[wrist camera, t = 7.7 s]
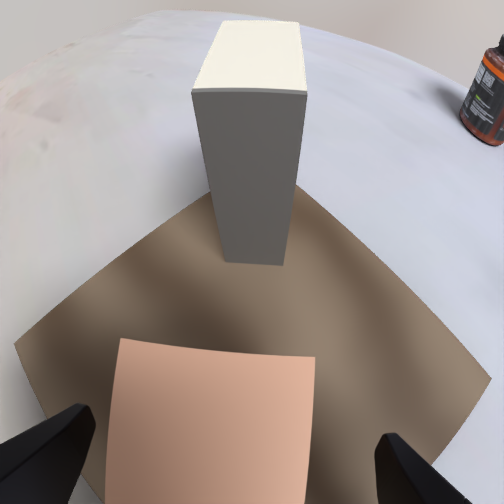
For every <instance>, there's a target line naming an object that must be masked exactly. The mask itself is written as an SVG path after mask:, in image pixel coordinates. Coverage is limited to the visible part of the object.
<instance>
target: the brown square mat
mask: <svg viewBox="0 0 504 504" xmlns="http://www.w3.org/2000/svg"><path fill="white" fill-rule="evenodd" d="M121 338H124V339H130V340H136V341H143V342H149V343H156V344H163V345H170V346H178V347H186V348H194V349H203V350H213V351H223V352H234V353H246V354H261V355H278V356H301V357H315V377H314V397H313V414H312V429H311V442H310V454H309V465H308V475H307V484H306V493H305V502H304V504H378V498H377V489H376V473H375V460H374V452H375V448H376V446H377V444H378V442H379V440H380V438H381V436H382V435H383V434H385V433H392V432H395V433H397V434H398V435H399V436H400V437H402V438H403V439H404V440H405V441H406V442H407V443H408V444H409V445H410V446H411V447H412V448H413V449H414V450H415V451H416V452H417V453H418V454H419V455H420V456H421V457H422V458H424V459H425V460H426V461H427V462H428V463H429V464H430V465H432V464H433V462H434V461H435V460H436V459H437V458H438V456H439V455H440V454H441V453H442V451H443V450H444V449H445V448H446V446H447V445H448V444H449V442H450V441H451V440H452V438H453V437H454V436H455V434H456V433H457V432H458V430H459V429H460V428H461V426H462V425H463V423H464V422H465V420H466V419H467V418H468V416H469V415H470V413H471V412H472V410H473V409H474V407H475V405H476V404H477V402H478V401H479V399H480V398H481V396H482V394H483V393H484V391H485V389H486V388H487V386H488V384H489V383H490V381H491V379H492V378H491V377H490V376H489V375H488V374H487V372H486V371H485V370H484V369H483V368H482V366H481V365H480V364H479V363H478V362H477V361H476V359H475V358H474V357H473V356H472V355H471V354H470V352H469V351H468V350H467V349H466V348H465V347H464V346H463V344H462V343H461V342H460V341H459V340H458V339H457V338H456V337H455V336H454V334H453V333H452V332H451V331H450V330H449V329H448V328H447V327H446V326H445V325H444V324H443V322H442V321H441V320H440V319H439V318H438V317H437V316H436V315H435V314H434V313H433V312H432V311H431V310H430V309H429V308H428V307H427V305H426V304H425V303H424V302H423V301H422V300H421V299H420V298H419V297H418V296H417V295H416V294H415V293H414V292H413V291H412V290H411V289H410V288H409V287H408V286H407V285H406V284H405V283H404V282H403V281H402V280H401V279H400V278H399V277H398V276H397V275H396V274H395V273H394V272H393V271H392V270H391V269H390V268H389V267H388V266H387V265H386V264H385V263H383V262H382V261H381V260H380V259H379V258H378V257H377V256H376V255H375V254H374V253H373V252H372V251H371V250H370V249H369V248H368V247H367V246H366V245H364V244H363V243H362V242H361V241H360V240H359V239H358V238H357V237H356V236H355V235H354V234H353V233H351V232H350V231H349V230H348V229H347V228H346V227H345V226H344V225H343V224H341V223H340V222H339V221H338V220H337V219H336V218H335V217H334V216H332V215H331V214H330V213H329V212H328V211H327V210H326V209H324V208H323V207H322V206H321V205H320V204H319V203H318V202H316V201H315V200H314V199H313V198H312V197H311V196H309V195H308V194H307V193H306V192H305V191H303V190H302V189H301V188H300V187H299V186H297V185H295V192H294V199H293V206H292V213H291V219H290V226H289V232H288V239H287V245H286V251H285V258H284V264H283V266H277V265H260V264H244V263H228V262H225V257H224V253H223V248H222V244H221V239H220V234H219V230H218V225H217V220H216V216H215V211H214V206H213V201H212V197H211V192H208V193H207V194H205V195H204V196H202V197H201V198H199V199H198V200H196V201H195V202H193V203H192V204H191V205H189V206H188V207H186V208H185V209H183V210H182V211H180V212H179V213H177V214H176V215H175V216H173V217H172V218H170V219H169V220H168V221H166V222H165V223H163V224H162V225H161V226H159V227H158V228H156V229H155V230H154V231H152V232H151V233H149V234H148V235H147V236H145V237H144V238H143V239H141V240H140V241H138V242H137V243H136V244H134V245H133V246H132V247H130V248H129V249H128V250H126V251H125V252H124V253H122V254H121V255H120V256H118V257H117V258H116V259H115V260H113V261H112V262H111V263H109V264H108V265H107V266H105V267H104V268H103V269H102V270H100V271H99V272H98V273H97V274H95V275H94V276H93V277H91V278H90V279H89V280H88V281H86V282H85V283H84V284H83V285H81V286H80V287H79V288H78V289H77V290H75V291H74V292H73V293H72V294H70V295H69V296H68V297H67V298H66V299H64V300H63V301H62V302H61V303H60V304H58V305H57V306H56V307H55V308H54V309H53V310H51V311H50V312H49V313H48V314H47V315H46V316H44V317H43V318H42V319H41V320H40V321H39V322H37V323H36V324H35V325H34V326H33V327H32V328H31V329H29V330H28V331H27V332H26V333H25V334H24V335H23V336H22V337H21V338H19V339H18V340H17V341H16V342H15V343H14V345H15V348H16V351H17V353H18V356H19V358H20V361H21V363H22V366H23V368H24V371H25V373H26V375H27V378H28V380H29V382H30V384H31V386H32V389H33V391H34V393H35V395H36V397H37V399H38V401H39V403H40V405H41V407H42V409H43V411H44V413H45V415H46V417H47V419H48V418H50V417H52V416H54V415H56V414H57V413H59V412H61V411H63V410H65V409H66V408H68V407H70V406H72V405H73V404H75V403H83V404H86V405H88V406H89V407H90V408H91V411H92V413H93V416H94V419H95V421H96V429H95V432H94V435H93V438H92V441H91V445H90V448H89V451H88V454H87V458H86V461H85V464H84V466H83V469H82V471H81V474H82V476H83V477H84V479H85V480H86V481H87V483H88V484H89V485H90V487H91V488H92V490H93V491H94V492H95V494H96V495H97V496H98V497H99V499H100V500H101V501H102V503H103V504H105V477H106V456H107V441H108V429H109V419H110V409H111V400H112V392H113V384H114V377H115V370H116V363H117V357H118V351H119V345H120V339H121Z"/></svg>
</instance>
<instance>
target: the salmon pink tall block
mask: <svg viewBox="0 0 504 504" xmlns="http://www.w3.org/2000/svg"><path fill="white" fill-rule="evenodd" d="M314 377H315V357H301V356H278V355H261V354H246V353H234V352H223V351H213V350H203V349H194V348H186V347H178V346H170V345H163V344H156V343H149V342H143V341H136V340H130V339H124V338H121V339H120V345H119V351H118V357H117V363H116V370H115V377H114V384H113V392H112V400H111V409H110V419H109V429H108V441H107V456H106V477H105V504H304V502H305V493H306V484H307V475H308V465H309V454H310V442H311V429H312V414H313V397H314Z"/></svg>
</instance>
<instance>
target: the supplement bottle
mask: <svg viewBox="0 0 504 504" xmlns="http://www.w3.org/2000/svg"><path fill="white" fill-rule="evenodd" d="M460 117H461V120H462V121H463V123H464V124H465V126H466V127H467V128H468V129H469V130H470V131H471V132H472V133H473V134H474V135H475V136H477V137H478V138H479V139H481V140H483V141H484V142H486V143H488V144H491V145H496V146H497V145H501V144H503V142H504V34H503V35H502V37H501V40H500V42H499V46H498V47H495V48H489V49H488V50H486V52H485V54H484V57H483V60H482V61H481V64H480V66H479V69H478V71H477V74H476V76H475V78H474V81H473V83H472V86H471V87H470V90H469V92H468V94H467V96H466V98H465V101H464V103H463V105H462V107H461V110H460Z"/></svg>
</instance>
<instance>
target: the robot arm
mask: <svg viewBox="0 0 504 504" xmlns="http://www.w3.org/2000/svg"><path fill="white" fill-rule="evenodd" d="M95 429H96V421H95V419H94V416H93V413H92V411H91V408H90V407H89V406H88V405H86V404H83V403H75V404H73V405H72V406H70V407H68V408H66V409H65V410H63V411H61V412H59V413H57V414H56V415H54V416H52V417H50V418H48V419H47V420H45V421H43V422H41V423H39V424H37V425H36V426H34V427H32V428H30V429H28V430H26V431H24V432H23V433H21V434H19V435H17V436H15V437H13V438H11V439H9V440H7V441H5V442H4V443H2V444H0V504H68V501H69V499H70V497H71V494H72V492H73V489H74V487H75V485H76V482H77V480H78V478H79V475H80V473H81V471H82V469H83V466H84V464H85V461H86V458H87V454H88V451H89V448H90V445H91V441H92V438H93V435H94V432H95ZM374 460H375V473H376V489H377V498H378V504H472V503H471V502H470V501H469V500H468V499H467V498H465V497H464V496H463V495H462V494H461V493H460V492H459V491H458V490H457V489H456V488H455V487H453V486H452V485H451V484H450V483H449V482H448V481H447V480H446V479H445V478H444V477H443V476H442V475H441V474H439V473H438V472H437V471H436V470H435V469H434V468H433V467H432V466H431V465H430V464H429V463H428V462H427V461H426V460H425V459H424V458H422V457H421V456H420V455H419V454H418V453H417V452H416V451H415V450H414V449H413V448H412V447H411V446H410V445H409V444H408V443H407V442H406V441H405V440H404V439H403V438H402V437H400V436H399V435H398V434H397V433H395V432H392V433H385V434H383V435H382V436H381V438H380V440H379V442H378V444H377V446H376V448H375V452H374Z"/></svg>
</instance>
